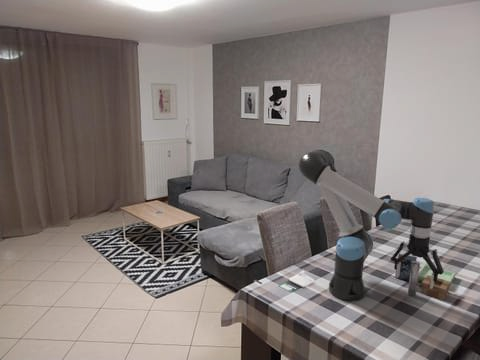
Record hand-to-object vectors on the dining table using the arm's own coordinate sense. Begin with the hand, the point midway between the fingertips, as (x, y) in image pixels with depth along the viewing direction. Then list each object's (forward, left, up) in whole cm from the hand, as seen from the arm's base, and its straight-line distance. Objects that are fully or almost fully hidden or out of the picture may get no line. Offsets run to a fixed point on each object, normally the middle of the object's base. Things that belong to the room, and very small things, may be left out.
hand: (414, 281), depth 149 cm
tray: (+23, -4, -6) cm, 24 cm away
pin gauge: (0, 0, -6) cm, 6 cm away
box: (+14, +7, -6) cm, 17 cm away
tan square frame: (+9, -7, -6) cm, 13 cm away
